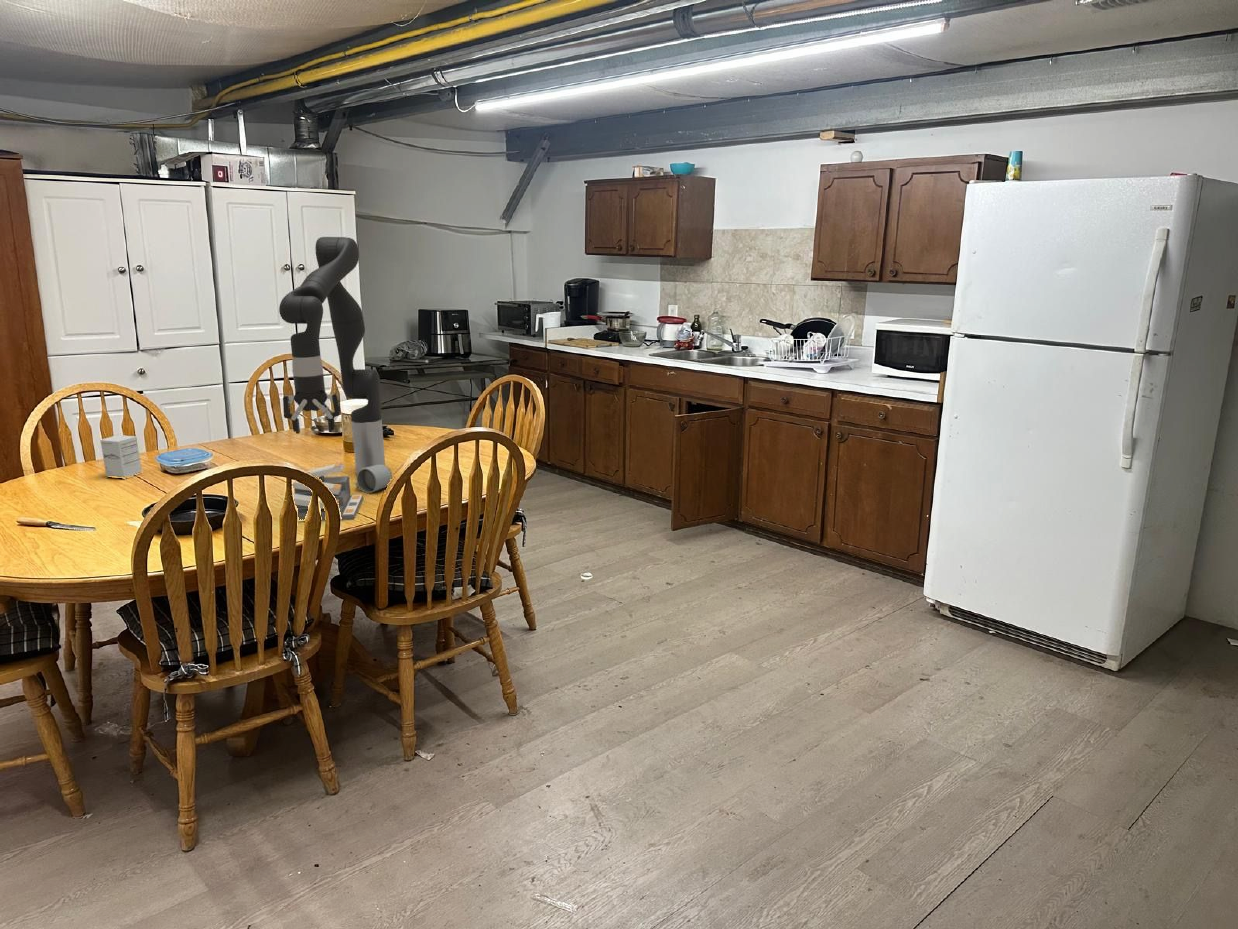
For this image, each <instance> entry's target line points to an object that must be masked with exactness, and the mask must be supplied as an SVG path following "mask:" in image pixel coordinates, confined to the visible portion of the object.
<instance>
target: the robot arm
mask: <svg viewBox="0 0 1238 929" xmlns="http://www.w3.org/2000/svg"><path fill="white" fill-rule="evenodd" d="M314 249H315V257H316V262H317V267H318V268H316V269H315V270H313V271H312V272H310V273H309V274H308V275H307V276H306V277H305V279H304V280H303V281H302V283H301V284H300V286H298V287H296V288H294V289H292V290H290V292H288V293H286V294H285V296H284V297H283V298H282V299H281V301H280V304H279V309H278V312H279V314H280V315H279V316H280V318H281V319H282V321H284V322H285V323H288V324H293V325H295V324H297V325H298V324H299V325H300V324H301V325H304V324H305V325H306V327H305V330H304V331H302V332H297V333H293V334H292V335H291V336H290V347H291V348H290V350H291V357H292V358H291V359H292V361H291V363H292V364H291V365H292V366H291V368H292V369H291V370H292V376H293V385H294V386H293V387H294V395H289V394H285V395H283V397H282V405H283V406H282V407H283V408H282V409H283V418H284V419H288V420H291V424H292V431H293V432H294V433H295V434H296V435H300V432H301V428H300V418H298V417H299V415H300V414H301V413H302V411H305V412H310V411H313V412H317V411H319V410H320V412H322V413H323V414H324V415H325V416H326V417H327V424H328V432H329V433H332V432H333V431H334V430H335V429H336V425H335V424H336V423H335V418H336V417H339V416H340V415H341V414H342V410H341V406H340V399H339V393H337V392H334V393H329V394H327V392H326V387H325V378H324V366H323V360H322V356H321V347H320V333H321V326H322V322H323V315H324V307H323V304H324V302H325V300H326V299H327V304H328V310H329V316H330V321H331V325H332V331H333V334H334V339H335V342H336V347H337V352H338V354H337V355H338V358H339V366H340V367H339V368H340V376H341V384H342V390H343V393H344V395H345V397H346V398H348V399H351V400H367V404H365V405H363V406H361V407H359V408H356V409H354V410H352V411H351V413H350V420H351V432H352V441H353V444H352V445H353V453H354V463H355V464H354V465H355V473H356V475H357V474H358V472H359V471H360V470H361V469H363V468H366V467H371V466H375V465H385V466H386V457H385V445H384V435H383V434H384V432H383V422H382V421H383V420H382V403H381V402H382V401H381V400H382V399H381V378H380V374H379V372H378V371H377V370H376V369H366V368H365V369H360V368H359V369H355V367H354V357H355V354H356V352H357V350H358V348H359V346H360V345H361V342H362V341H363V339H364V336H365V334H366V327H365V320H364V314H363V311H362V308H361V306H360V305H359V303H358V302H357V301H356V299H355V298H354V297H353V296H352V295H351V293H349V291H348V290H347V289H346V288H345V286H344V285H343V284H342V282H341V281H342V280H343V279H344V278H346V276H347V275H348V274H350V273H351V272H352V271H353V270H354V269H355V268H356V267H357V265H358V263H359V259H360V250H359V247H358V243H357V242H356V240H354V238H351V237H347V236H320V237H318V238H317V240H316V242H315V247H314ZM327 400H329V401H330V402H331V403H332V406H333V411H332V410H331V409H330V407H329V406H328V405H327V404H326V401H327ZM293 401H294V402H295V403H296V404H297V405H298V406H297V408H296V409H295V410H294V412H291V404H292V403H293Z"/></svg>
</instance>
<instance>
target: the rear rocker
mask: <svg viewBox="0 0 1238 929" xmlns="http://www.w3.org/2000/svg"><path fill="white" fill-rule="evenodd" d="M344 468H345V466H344V462H343V461H340V462H336V463H333V464H329V465H326V466H322V467H317V468H314V469H309V470H308V469H307V470H306V471H307V472H310V473H312V475H314V476H317V477H321V476H324V477H326V476H328V475H332V474H337V473H340V472H342V471H343V470H344Z"/></svg>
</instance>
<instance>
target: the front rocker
mask: <svg viewBox="0 0 1238 929" xmlns="http://www.w3.org/2000/svg"><path fill="white" fill-rule="evenodd" d="M292 495H294V501H295V505H302V506H308V505H309V503H310V500H311V496H307V495H300V494H294V493H292ZM336 501H337V503H338V502H339V500H337V499H336ZM319 503H320V508H323V504H322V502H321V500H320V501H319ZM323 509H324V508H323Z"/></svg>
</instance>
